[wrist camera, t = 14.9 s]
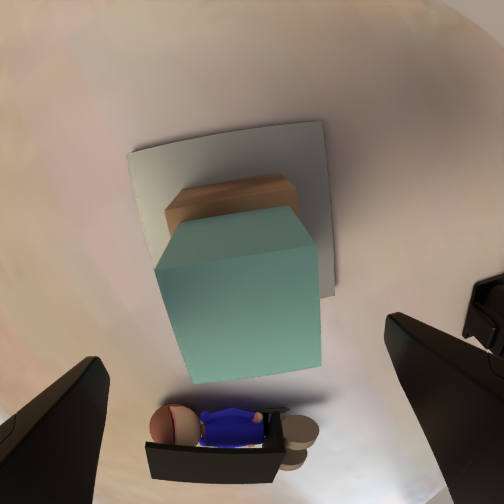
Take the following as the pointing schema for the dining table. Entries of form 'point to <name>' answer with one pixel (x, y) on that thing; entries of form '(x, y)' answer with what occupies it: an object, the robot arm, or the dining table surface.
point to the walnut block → (231, 199)
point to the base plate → (239, 167)
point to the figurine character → (226, 445)
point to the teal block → (243, 295)
